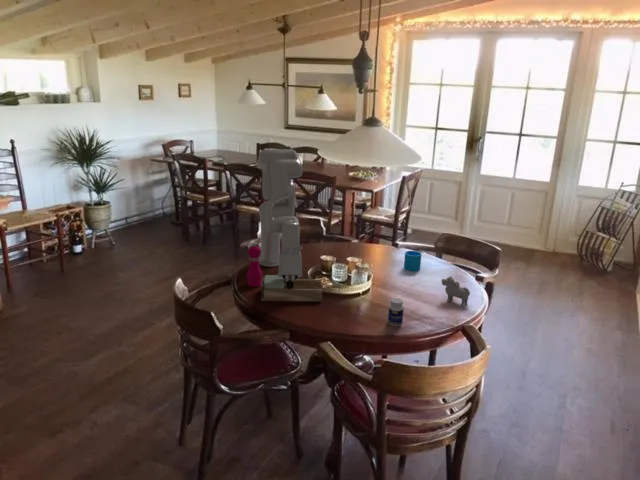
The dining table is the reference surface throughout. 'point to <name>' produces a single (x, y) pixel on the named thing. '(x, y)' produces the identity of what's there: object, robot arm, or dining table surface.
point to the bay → (294, 291)
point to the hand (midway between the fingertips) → (289, 288)
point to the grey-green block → (273, 282)
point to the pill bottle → (395, 312)
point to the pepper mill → (254, 266)
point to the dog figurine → (455, 290)
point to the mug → (412, 261)
